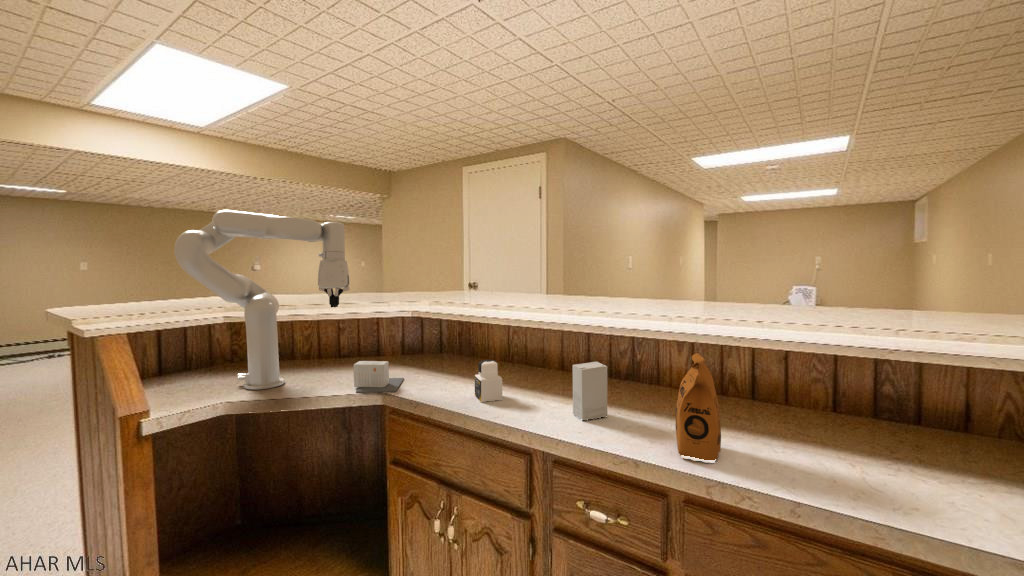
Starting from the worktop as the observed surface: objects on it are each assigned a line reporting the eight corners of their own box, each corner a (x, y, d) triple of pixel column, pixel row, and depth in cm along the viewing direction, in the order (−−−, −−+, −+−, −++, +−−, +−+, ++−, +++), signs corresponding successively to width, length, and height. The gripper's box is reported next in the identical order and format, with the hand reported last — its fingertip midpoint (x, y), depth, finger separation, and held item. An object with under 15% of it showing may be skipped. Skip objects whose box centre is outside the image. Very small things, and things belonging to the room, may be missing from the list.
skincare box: (597, 411, 135) (597, 360, 134) (608, 418, 129) (609, 365, 128) (571, 415, 132) (571, 363, 131) (581, 422, 126) (582, 368, 125)
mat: (355, 392, 154) (355, 391, 154) (367, 379, 170) (367, 378, 170) (395, 392, 155) (395, 390, 155) (403, 379, 170) (403, 377, 170)
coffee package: (671, 459, 103) (673, 361, 102) (676, 439, 115) (678, 350, 113) (720, 467, 99) (723, 366, 98) (720, 445, 111) (723, 354, 109)
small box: (359, 383, 164) (389, 383, 163) (353, 387, 158) (383, 388, 157) (359, 360, 163) (389, 361, 163) (353, 364, 158) (383, 364, 157)
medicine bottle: (474, 396, 150) (474, 359, 149) (495, 393, 152) (495, 357, 151) (480, 402, 143) (480, 364, 142) (502, 400, 146) (502, 362, 145)
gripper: (308, 256, 165) (309, 307, 166) (351, 256, 165) (351, 308, 167) (316, 256, 172) (317, 305, 173) (357, 256, 173) (358, 306, 174)
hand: (334, 306), depth 170 cm, fingers closed
